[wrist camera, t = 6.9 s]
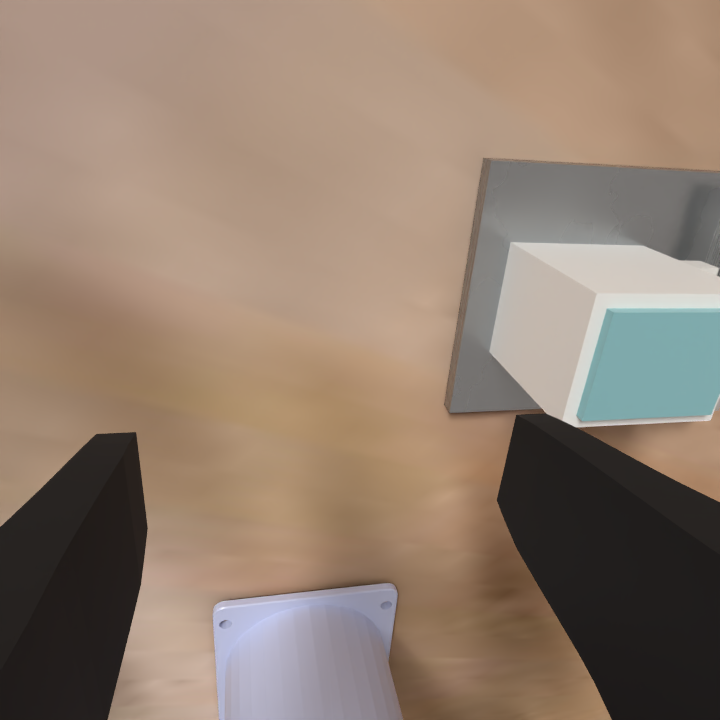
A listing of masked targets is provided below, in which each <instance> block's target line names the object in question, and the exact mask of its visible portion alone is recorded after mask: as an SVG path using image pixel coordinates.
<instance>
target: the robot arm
mask: <svg viewBox="0 0 720 720" xmlns="http://www.w3.org/2000/svg"><path fill="white" fill-rule="evenodd" d="M497 502H498V504H499V507H500V509H501V512H502V514H503V517H504V520H505V522H506V525H507V527H508V529H509V532H510V534H511V536H512V538H513V541H514V543H515V545H516V547H517V549H518V551H519V553H520V555H521V556H522V558H523V560H524V562H525V563H526V565H527V567H528V569H529V570H530V572H531V574H532V575H533V577H534V579H535V581H536V582H537V584H538V586H539V587H540V589H541V591H542V593H543V594H544V596H545V598H546V599H547V601H548V603H549V604H550V606H551V608H552V609H553V611H554V613H555V614H556V616H557V618H558V619H559V621H560V623H561V625H562V626H563V628H564V630H565V631H566V633H567V635H568V636H569V638H570V640H571V641H572V643H573V645H574V646H575V648H576V650H577V652H578V653H579V655H580V657H581V659H582V660H583V662H584V664H585V666H586V668H587V670H588V671H589V673H590V675H591V677H592V679H593V681H594V683H595V685H596V687H597V689H598V691H599V693H600V695H601V697H602V700H603V702H604V704H605V706H606V708H607V710H608V712H609V714H610V717H611V719H612V720H720V502H718V501H716V500H714V499H712V498H710V497H708V496H706V495H704V494H702V493H699V492H697V491H695V490H693V489H691V488H689V487H687V486H685V485H683V484H681V483H679V482H677V481H675V480H673V479H671V478H669V477H668V476H666V475H664V474H662V473H660V472H658V471H656V470H654V469H652V468H650V467H648V466H647V465H645V464H643V463H641V462H639V461H637V460H635V459H634V458H632V457H630V456H628V455H626V454H624V453H622V452H621V451H619V450H617V449H615V448H613V447H611V446H610V445H608V444H606V443H604V442H602V441H600V440H599V439H597V438H595V437H593V436H591V435H589V434H587V433H586V432H584V431H582V430H580V429H578V428H576V427H574V426H572V425H570V424H568V423H566V422H564V421H562V420H560V419H558V418H555V417H553V416H551V415H548V414H524V415H516V419H515V423H514V428H513V432H512V437H511V441H510V445H509V450H508V454H507V458H506V463H505V467H504V472H503V476H502V480H501V485H500V489H499V493H498V498H497ZM147 529H148V528H147V519H146V511H145V503H144V495H143V486H142V478H141V470H140V461H139V453H138V445H137V436H136V432H132V433H110V434H96V435H95V436H94V437H93V438H92V439H91V440H90V441H89V442H88V443H86V444H85V445H84V446H83V447H82V448H81V449H80V450H79V451H78V452H77V453H76V454H75V455H74V456H73V457H72V458H71V459H70V460H69V461H68V462H67V463H66V464H65V465H64V466H63V467H62V468H61V469H60V470H59V471H58V472H57V473H56V474H55V475H54V476H53V477H52V478H51V479H50V480H49V481H48V482H47V483H46V484H45V485H44V486H43V487H42V488H41V489H40V490H39V491H38V492H37V493H36V494H35V495H34V496H33V497H32V498H31V499H30V500H29V501H27V502H26V503H25V504H24V505H23V506H22V507H21V508H20V509H19V510H18V511H17V512H16V513H15V514H14V515H13V516H12V517H11V518H10V519H9V520H7V521H6V522H5V523H4V524H3V525H2V526H1V527H0V720H107V719H108V715H109V711H110V707H111V703H112V699H113V695H114V691H115V687H116V683H117V679H118V675H119V671H120V667H121V663H122V659H123V655H124V651H125V647H126V643H127V639H128V635H129V631H130V627H131V623H132V619H133V615H134V611H135V607H136V602H137V598H138V594H139V590H140V586H141V579H142V571H143V563H144V555H145V546H146V537H147ZM397 598H398V593H397V589H396V587H395V586H394V585H393V584H391V583H382V584H373V585H364V586H355V587H346V588H336V589H327V590H318V591H309V592H300V593H291V594H282V595H273V596H264V597H254V598H245V599H236V600H227V601H222V602H219V603H218V604H216V605H215V606H214V609H213V628H214V644H215V660H216V677H217V693H218V709H219V720H403V716H402V713H401V709H400V705H399V701H398V697H397V694H396V690H395V686H394V682H393V678H392V675H391V671H390V667H389V663H388V661H389V654H390V647H391V640H392V633H393V626H394V619H395V612H396V605H397ZM386 601H387V602H386ZM224 620H227V621H224Z"/></svg>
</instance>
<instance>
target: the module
mask: <svg viewBox="0 0 720 720" xmlns="http://www.w3.org/2000/svg"><path fill="white" fill-rule="evenodd" d="M718 270H719V268H718V267H715V266H712V265H710V264H707V263H705V262H702V261H686V260H677V259H675V258H672V257H670V256H667V255H665V254H662V253H660V252H658V251H655V250H653V249H650V248H648V247H645V246H640V245H601V244H562V243H523V242H511V243H510V248H509V253H508V258H507V263H506V268H505V274H504V279H503V284H502V289H501V294H500V299H499V304H498V310H497V315H496V320H495V325H494V330H493V335H492V340H491V346H490V351H489V352H490V353H491V354H492V356H493V357H494V358H495V359H496V360H497V361H498V362H499V363H500V364H501V365H502V366H503V367H504V368H505V369H506V371H507V372H508V373H509V374H510V375H511V376H512V377H513V378H514V379H515V380H516V381H517V382H518V383H519V385H520V386H521V387H522V388H523V389H524V390H525V391H526V392H527V393H528V394H529V395H530V396H531V397H532V398H533V400H534V401H535V402H536V403H537V404H538V405H539V406H540V407H541V408H542V409H543V410H544V411H545V412H546V414H548V415H551V416H553V417H555V418H558V419H560V420H562V421H564V422H566V423H568V424H570V425H572V426H574V427H593V426H613V425H632V424H652V423H671V422H691V421H710V420H711V418H712V415H713V413H714V410H715V408H716V405H717V403H718V400H719V398H720V277H719V276H717V273H718Z"/></svg>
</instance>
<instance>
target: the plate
mask: <svg viewBox="0 0 720 720" xmlns="http://www.w3.org/2000/svg"><path fill="white" fill-rule="evenodd" d="M719 220H720V171H707V170H689V169H671V168H653V167H635V166H617V165H600V164H582V163H564V162H546V161H528V160H510V159H492V158H484V159H483V165H482V171H481V177H480V184H479V190H478V196H477V202H476V209H475V215H474V221H473V228H472V234H471V240H470V246H469V253H468V259H467V265H466V271H465V278H464V284H463V290H462V296H461V303H460V309H459V315H458V322H457V328H456V334H455V340H454V347H453V353H452V359H451V365H450V372H449V378H448V384H447V391H446V397H445V403H444V405H445V407H446V408H447V410H448V411H449V413H458V412H480V411H502V410H525V409H542V408H541V407H540V406H539V405H538V404H537V403H536V402H535V401H534V400H533V398H532V397H531V396H530V395H529V394H528V393H527V392H526V391H525V390H524V389H523V388H522V387H521V386H520V385H519V383H518V382H517V381H516V380H515V379H514V378H513V377H512V376H511V375H510V374H509V373H508V372H507V371H506V369H505V368H504V367H503V366H502V365H501V364H500V363H499V362H498V361H497V360H496V359H495V358H494V357H493V356H492V354H491V353H490V352H489V351H490V346H491V340H492V335H493V330H494V325H495V320H496V315H497V310H498V304H499V299H500V294H501V289H502V284H503V279H504V274H505V268H506V263H507V258H508V253H509V248H510V243H511V242H523V243H562V244H601V245H640V246H645V247H648V248H650V249H653V250H655V251H658V252H660V253H662V254H665V255H667V256H670V257H672V258H675V259H677V260H686V261H702V262H705V260H706V257H707V254H708V252H709V249H710V246H711V243H712V240H713V237H714V234H715V232H716V229H717V226H718V223H719Z"/></svg>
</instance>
